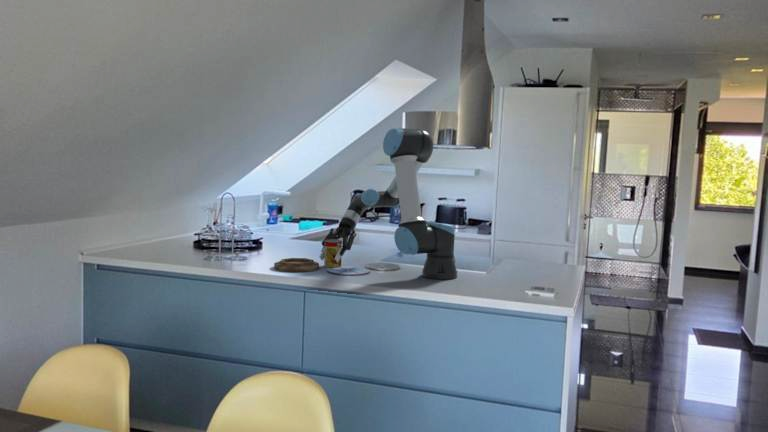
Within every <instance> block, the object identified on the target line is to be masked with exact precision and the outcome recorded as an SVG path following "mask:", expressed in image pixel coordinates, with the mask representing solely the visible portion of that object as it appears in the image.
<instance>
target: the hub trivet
mask: <svg viewBox="0 0 768 432" xmlns="http://www.w3.org/2000/svg"><path fill="white" fill-rule="evenodd" d="M273 268H274V270H276V271H278V272H284V273H285V272H286V273H308V272H314V271H317V270H319V269H320V263H319V262H317V261H314V259H310V258H306V257H304V258H303V257H290V258H282V259H280V260H279V261H276V262H274V263H273Z"/></svg>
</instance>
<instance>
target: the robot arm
mask: <svg viewBox="0 0 768 432" xmlns="http://www.w3.org/2000/svg"><path fill="white" fill-rule="evenodd" d="M382 150H383V152H384V154H385V155H386V156H388V157H389V159H390V163H391V164H393V165H394V171H395V176H394V177H393V179H392V181H391V182H390V183H389V185H388V187H387V188H386V190H381V191H379V190H376V189H374V188H368V189H366V190H364V191H363V192H362V193H356V194H355V195H354V196H353V197H352V200H351V201H350V203H349V205H348V207H347V209H346V211H345V213H344V214H343V216H342V218H341V219H340V221H339V222H338V223H339V224H338V227H337V228H335V229H334V228H330V230H329V232H328V234H327V235H326V236H325V238H324V239H323V240H322V241H321V245H322V248H321V251H320V254H319V256H318V257H319V259H320V260H321V261H324V249H325V240H330V239H335V240H340V239H341V238H342V248H341V247H340V249H339V251H338V253H337V255H336V256H335V258H334V259H335V260H336V262H339V260H340V258H341V259H342V257H343V256H344V255H345V253H346V252H347V251H351V249H352V246H353V243H354V241H355V238H356V237H357V232H356V230H355V228H356V226H357V224H358V223H359V221H360V219H361V217H362V215H363V213H365V211H367V210H368V209H370V208H396V207H399V209H400V218H401V220H400V222H398V227H397V228H396V229H395V231H394V233H395V234H394V235H393V236H394V237H393V238H394V243H395V246H396V248H397V250H399V252H400V253H401V254H403V255H411V256H414V255H422V254H423V255H424V254H426V259H425V262H424V264H423V268H422V271H421V276H422V277H424V278H428V279H434V280H452V279H453V280H454V279H456V278H458V270H457V267H456V261H455V262H454V258H455V255H454V254H455V236H456V234H455V227H454V225H452V224H447V223H442V222H434V221H429V222H427V220H426V219H425V218H423V216H422V210H421V201H420V192H419V185H418V177H417V173H418V172H419V170H420V169H421V168H422V166H423V164H425V163H427V162H429V160H430V158H431V157H432V154H433V151H434V141H433V138H432V136H431V135H430V134H429V132H428V131H427V130H424V129H419V128H402V127H398V128H397V127H393V128H390V129H389V130H388V131H387V132H386V134H385V135H384V137H383V142H382Z"/></svg>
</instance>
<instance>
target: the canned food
mask: <svg viewBox="0 0 768 432" xmlns="http://www.w3.org/2000/svg"><path fill="white" fill-rule="evenodd" d="M342 244H343V240H342V239H337V240H335V239H330V240H325V249H324V259H323V263H324V264H323V266H324V268H327V269H329V268H330V267H339V268H341V267H342V257H341V258H340V260H339V262H336V260H335V259H334V258H335V256H336V255H337V253H338V251H339V249H340V247H341V248H342ZM330 269H331V268H330Z"/></svg>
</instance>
